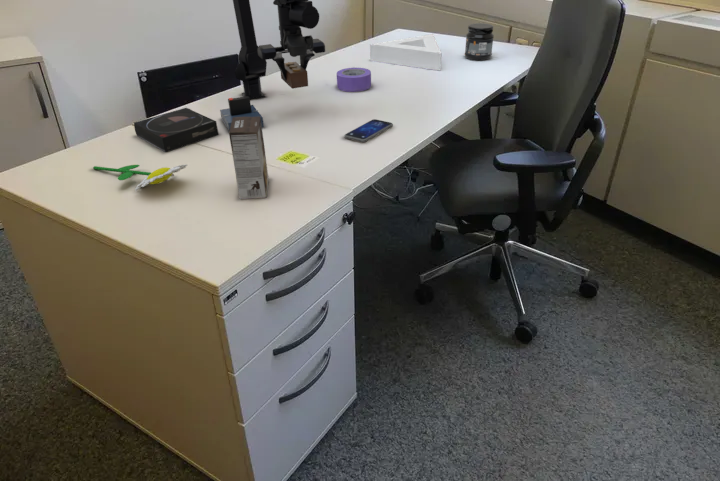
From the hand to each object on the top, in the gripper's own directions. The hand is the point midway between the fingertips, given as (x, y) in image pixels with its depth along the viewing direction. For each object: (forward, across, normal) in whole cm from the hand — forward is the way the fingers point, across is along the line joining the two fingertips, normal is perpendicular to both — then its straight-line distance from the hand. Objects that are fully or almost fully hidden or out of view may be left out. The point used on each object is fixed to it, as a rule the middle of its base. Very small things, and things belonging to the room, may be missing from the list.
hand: (294, 78), depth 163 cm
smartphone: (+11, +14, -23) cm, 29 cm away
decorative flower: (+11, -49, -26) cm, 57 cm away
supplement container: (+11, +84, +29) cm, 90 cm away
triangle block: (+11, +56, +39) cm, 69 cm away
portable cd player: (+11, -36, -1) cm, 38 cm away
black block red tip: (+8, -17, 0) cm, 19 cm away
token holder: (+1, 0, 0) cm, 1 cm away
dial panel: (+11, -17, 0) cm, 20 cm away
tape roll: (+11, +26, +17) cm, 33 cm away
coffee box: (+11, -24, -43) cm, 50 cm away
